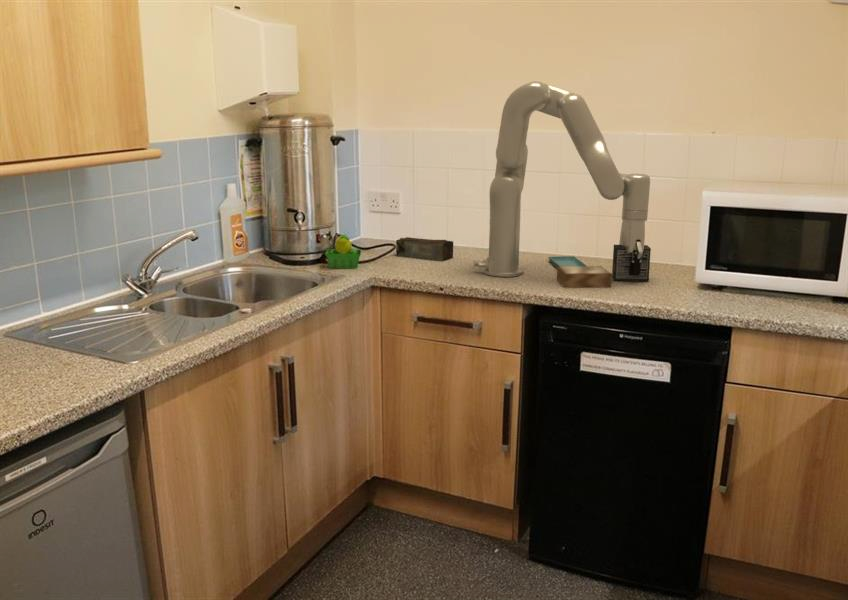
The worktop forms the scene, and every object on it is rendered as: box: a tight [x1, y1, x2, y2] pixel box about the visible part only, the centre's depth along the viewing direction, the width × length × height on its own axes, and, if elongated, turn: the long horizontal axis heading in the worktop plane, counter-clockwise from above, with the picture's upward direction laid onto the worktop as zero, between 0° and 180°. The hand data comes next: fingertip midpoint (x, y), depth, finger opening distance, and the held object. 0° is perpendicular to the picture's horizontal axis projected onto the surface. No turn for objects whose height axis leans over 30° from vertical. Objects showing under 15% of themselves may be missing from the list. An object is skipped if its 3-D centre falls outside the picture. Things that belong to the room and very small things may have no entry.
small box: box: [611, 244, 652, 282], centre depth 244 cm, size 11×6×10 cm, turn 84°
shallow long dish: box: [547, 255, 588, 268], centre depth 259 cm, size 26×9×2 cm, turn 4°
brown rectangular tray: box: [556, 265, 613, 288], centre depth 239 cm, size 14×10×4 cm
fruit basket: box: [325, 233, 362, 269], centre depth 259 cm, size 11×9×11 cm
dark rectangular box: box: [395, 236, 454, 262], centre depth 276 cm, size 8×19×7 cm, turn 62°
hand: (630, 271), depth 245 cm, fingers closed on small box, 6 cm apart
